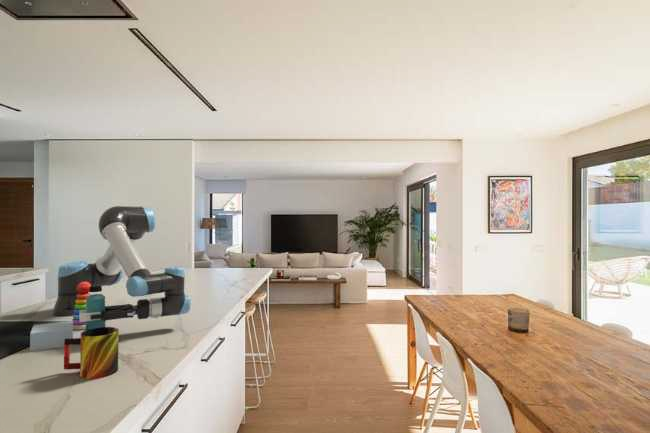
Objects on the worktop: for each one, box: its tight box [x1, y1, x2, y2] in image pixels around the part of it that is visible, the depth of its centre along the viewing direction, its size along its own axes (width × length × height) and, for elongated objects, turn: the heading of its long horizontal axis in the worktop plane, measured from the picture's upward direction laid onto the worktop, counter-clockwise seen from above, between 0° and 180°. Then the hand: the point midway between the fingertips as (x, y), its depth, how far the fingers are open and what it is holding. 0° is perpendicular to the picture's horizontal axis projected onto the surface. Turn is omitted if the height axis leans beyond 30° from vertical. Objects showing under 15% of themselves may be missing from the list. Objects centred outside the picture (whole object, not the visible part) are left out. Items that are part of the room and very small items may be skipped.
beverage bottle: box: [85, 285, 107, 331], centre depth 145 cm, size 6×7×20 cm
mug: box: [63, 326, 119, 380], centre depth 114 cm, size 10×14×12 cm
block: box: [29, 320, 74, 352], centre depth 141 cm, size 12×12×6 cm
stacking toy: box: [71, 282, 92, 331], centre depth 161 cm, size 8×8×19 cm
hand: (79, 315), depth 142 cm, fingers closed on beverage bottle, 6 cm apart
